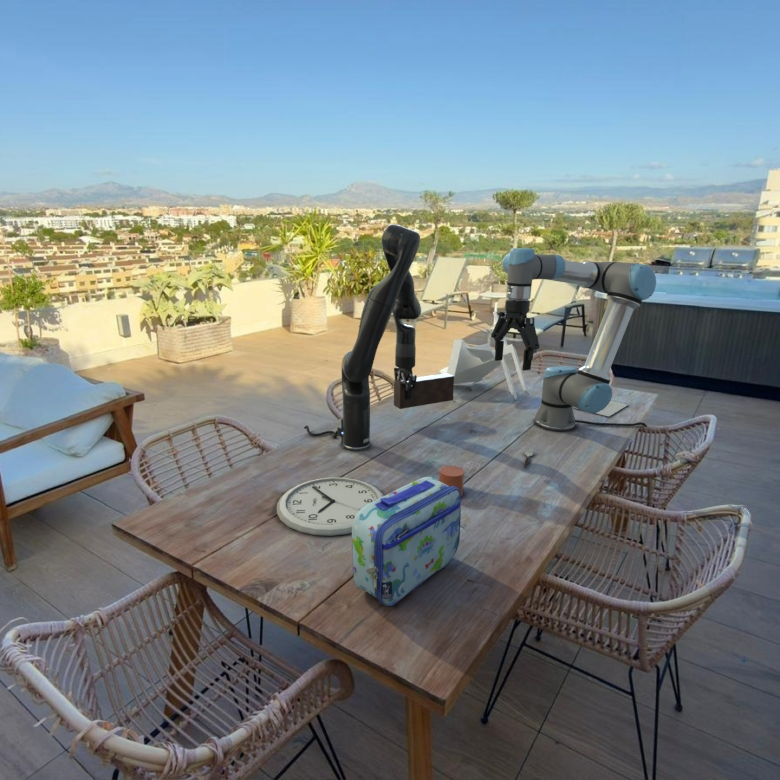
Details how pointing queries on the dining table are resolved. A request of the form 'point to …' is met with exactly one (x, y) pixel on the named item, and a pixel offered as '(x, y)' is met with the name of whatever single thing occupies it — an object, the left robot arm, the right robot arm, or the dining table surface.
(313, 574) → the dining table surface
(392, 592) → the lunch box
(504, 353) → the white plastic object
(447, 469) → the orange clay cylinder
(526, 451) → the fork
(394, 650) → the dining table surface
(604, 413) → the invitation card
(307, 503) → the wall clock
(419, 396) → the walnut box
